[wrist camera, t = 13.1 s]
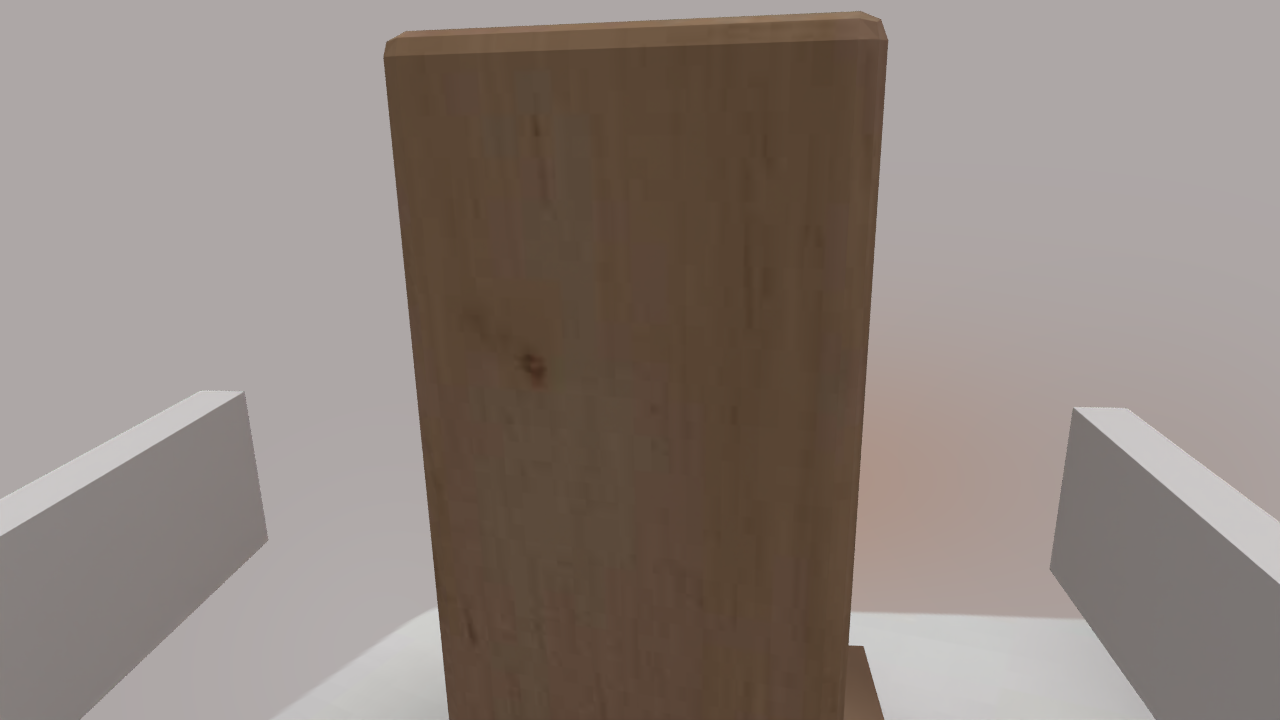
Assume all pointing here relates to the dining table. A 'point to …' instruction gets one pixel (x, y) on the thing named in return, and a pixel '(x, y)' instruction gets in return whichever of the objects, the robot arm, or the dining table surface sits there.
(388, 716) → the dining table surface
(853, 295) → the wooden block
